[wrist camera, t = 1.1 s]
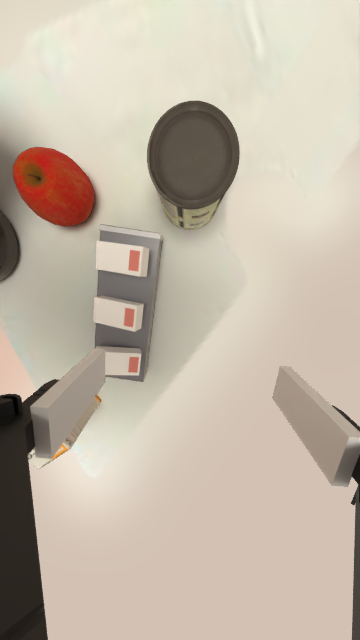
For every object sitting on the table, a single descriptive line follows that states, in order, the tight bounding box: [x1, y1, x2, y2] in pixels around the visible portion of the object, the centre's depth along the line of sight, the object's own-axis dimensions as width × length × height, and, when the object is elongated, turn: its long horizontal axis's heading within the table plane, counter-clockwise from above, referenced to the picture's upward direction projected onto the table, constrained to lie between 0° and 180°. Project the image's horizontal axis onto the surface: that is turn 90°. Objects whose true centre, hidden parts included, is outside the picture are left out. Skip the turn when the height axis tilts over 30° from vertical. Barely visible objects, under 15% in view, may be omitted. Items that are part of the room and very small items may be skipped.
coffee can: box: [147, 101, 239, 230], centre depth 30 cm, size 10×10×14 cm
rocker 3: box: [96, 346, 141, 376], centre depth 37 cm, size 8×4×2 cm, turn 82°
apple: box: [13, 147, 95, 226], centre depth 32 cm, size 10×10×10 cm
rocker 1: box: [95, 241, 149, 277], centre depth 33 cm, size 8×4×2 cm, turn 82°
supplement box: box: [28, 396, 101, 469], centre depth 41 cm, size 8×5×13 cm, turn 127°
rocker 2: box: [93, 296, 144, 332], centre depth 35 cm, size 8×4×3 cm, turn 82°
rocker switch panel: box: [95, 224, 163, 382], centre depth 39 cm, size 10×28×5 cm, turn 172°
